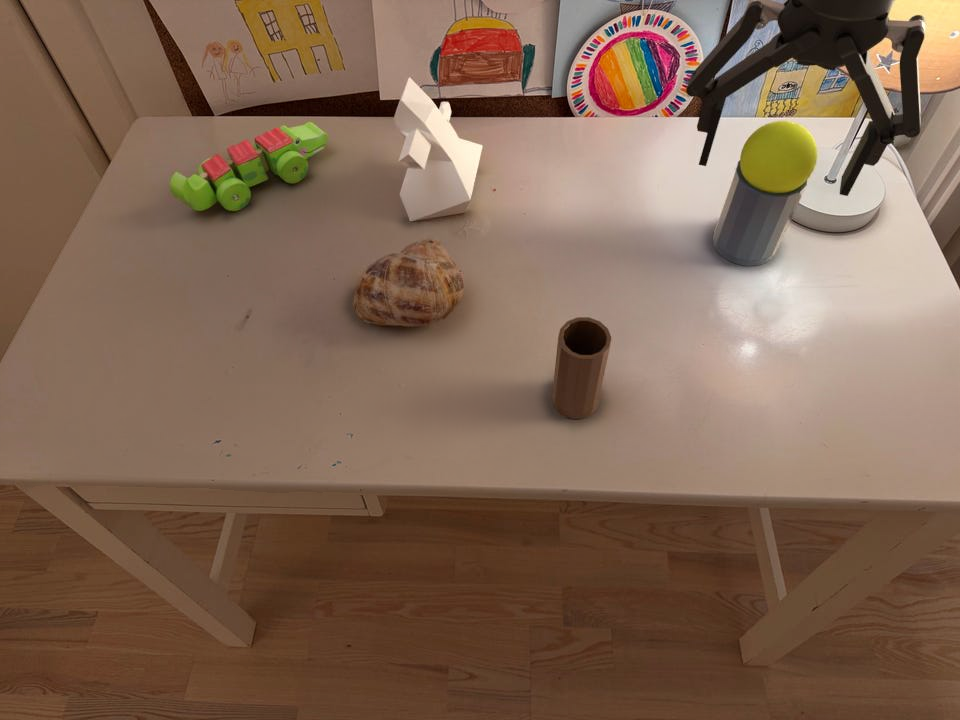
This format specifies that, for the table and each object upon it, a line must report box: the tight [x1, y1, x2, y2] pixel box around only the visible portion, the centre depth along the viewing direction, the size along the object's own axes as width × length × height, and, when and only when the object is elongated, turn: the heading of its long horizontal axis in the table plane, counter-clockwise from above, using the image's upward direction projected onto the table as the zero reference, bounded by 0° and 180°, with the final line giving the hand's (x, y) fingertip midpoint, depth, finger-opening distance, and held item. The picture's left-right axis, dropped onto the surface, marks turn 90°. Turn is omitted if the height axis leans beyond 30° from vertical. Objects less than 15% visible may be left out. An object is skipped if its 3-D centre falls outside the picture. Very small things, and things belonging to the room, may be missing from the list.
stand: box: [551, 316, 612, 420], centre depth 63 cm, size 4×4×10 cm
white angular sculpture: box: [393, 76, 484, 222], centre depth 79 cm, size 8×14×14 cm, turn 171°
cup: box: [712, 160, 809, 267], centre depth 74 cm, size 7×7×10 cm
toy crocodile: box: [169, 121, 329, 212], centre depth 84 cm, size 20×7×6 cm, turn 128°
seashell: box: [352, 237, 465, 328], centre depth 72 cm, size 10×9×10 cm
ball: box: [739, 120, 818, 194], centre depth 69 cm, size 7×7×7 cm
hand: (772, 171), depth 70 cm, fingers open, 13 cm apart
